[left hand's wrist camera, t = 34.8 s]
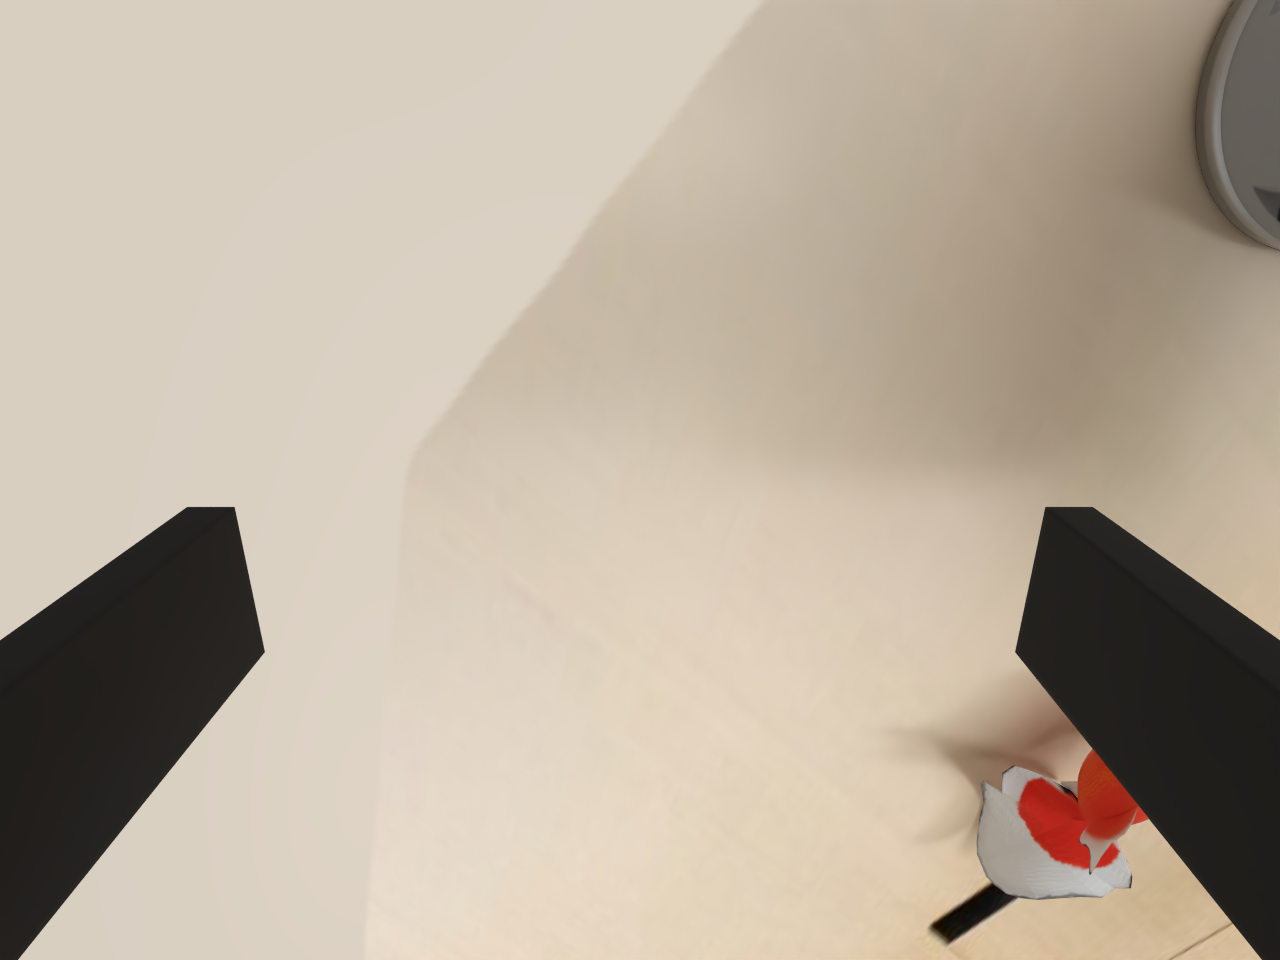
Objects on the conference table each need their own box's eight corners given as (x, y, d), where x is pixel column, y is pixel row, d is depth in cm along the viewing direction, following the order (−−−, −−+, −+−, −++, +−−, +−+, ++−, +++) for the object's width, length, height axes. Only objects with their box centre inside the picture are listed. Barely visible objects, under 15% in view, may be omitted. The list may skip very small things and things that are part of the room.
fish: (1281, 814, 44) (1307, 954, 36) (1019, 848, 54) (996, 964, 46) (1180, 656, 44) (1185, 762, 36) (937, 718, 54) (900, 812, 46)
